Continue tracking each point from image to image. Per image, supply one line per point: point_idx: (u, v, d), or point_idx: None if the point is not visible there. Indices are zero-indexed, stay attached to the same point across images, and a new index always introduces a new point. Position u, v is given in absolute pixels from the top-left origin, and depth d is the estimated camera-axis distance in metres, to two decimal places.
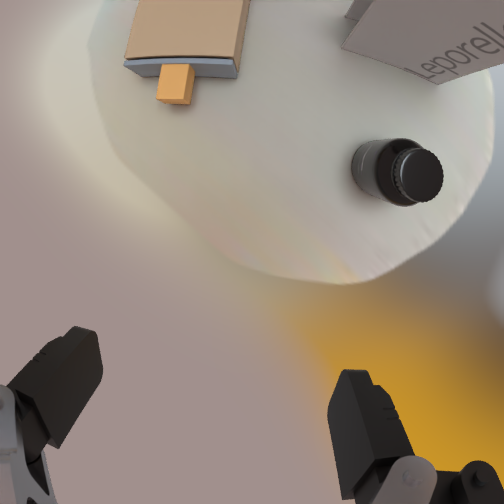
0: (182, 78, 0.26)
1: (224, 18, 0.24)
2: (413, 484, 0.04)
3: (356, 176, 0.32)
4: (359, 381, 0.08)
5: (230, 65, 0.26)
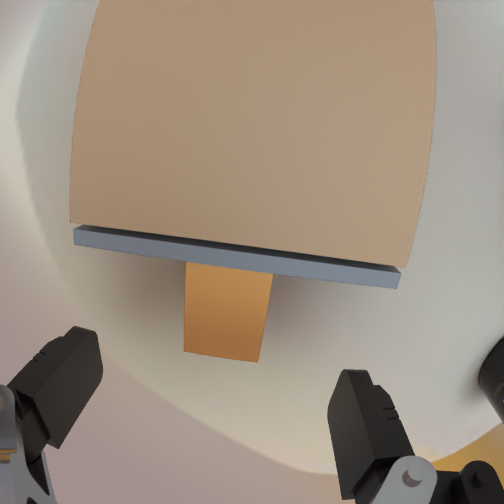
0: (253, 313, 0.11)
1: (391, 119, 0.08)
2: (413, 484, 0.04)
3: (486, 388, 0.17)
4: (359, 381, 0.08)
5: None
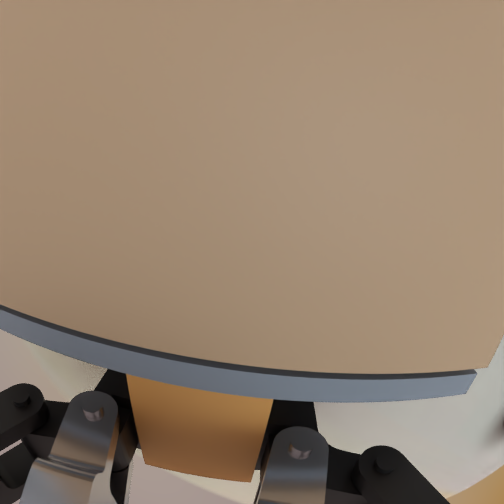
0: (242, 438, 0.06)
1: (502, 115, 0.03)
2: (295, 454, 0.05)
3: None
4: None
5: None
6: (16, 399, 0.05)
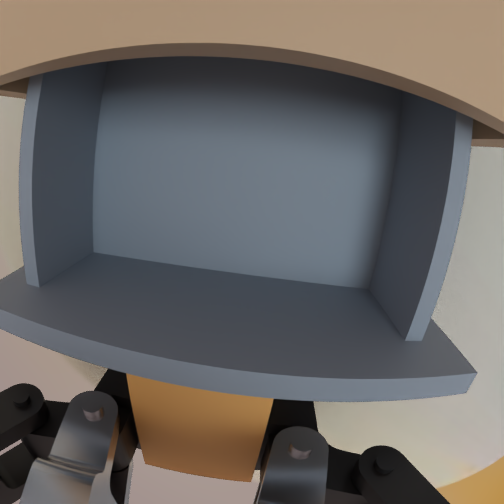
0: (242, 437, 0.06)
1: None
2: (295, 454, 0.05)
3: None
4: None
5: None
6: (16, 399, 0.05)
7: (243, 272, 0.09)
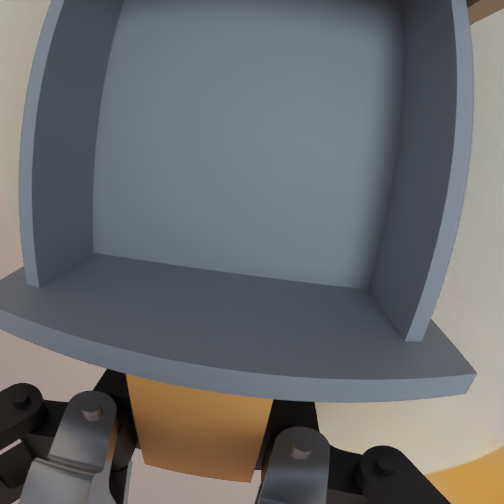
0: (242, 438, 0.06)
1: None
2: (297, 454, 0.05)
3: None
4: None
5: None
6: (15, 399, 0.05)
7: (243, 272, 0.09)
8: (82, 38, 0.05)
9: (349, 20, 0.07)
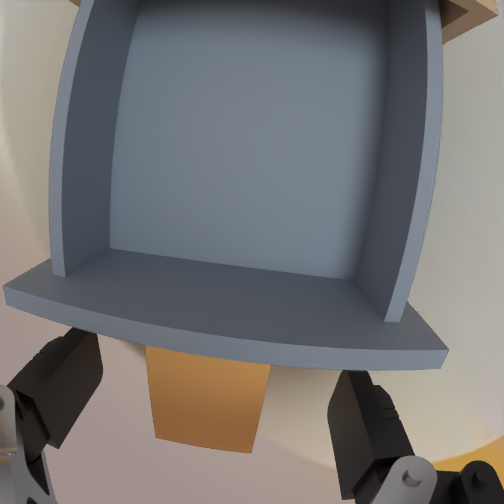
0: (243, 405, 0.07)
1: None
2: (413, 484, 0.04)
3: None
4: (359, 381, 0.08)
5: None
6: None
7: (244, 265, 0.10)
8: (102, 57, 0.07)
9: (337, 41, 0.08)
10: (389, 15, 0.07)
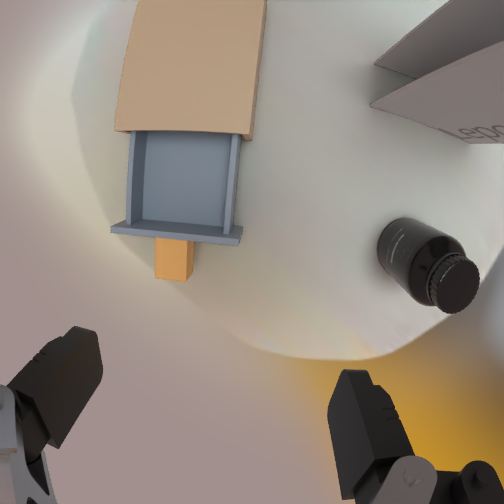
0: (181, 258, 0.27)
1: (235, 79, 0.22)
2: (413, 484, 0.04)
3: (382, 262, 0.30)
4: (359, 381, 0.08)
5: None
6: None
7: (188, 222, 0.30)
8: (139, 155, 0.26)
9: (216, 142, 0.28)
10: None
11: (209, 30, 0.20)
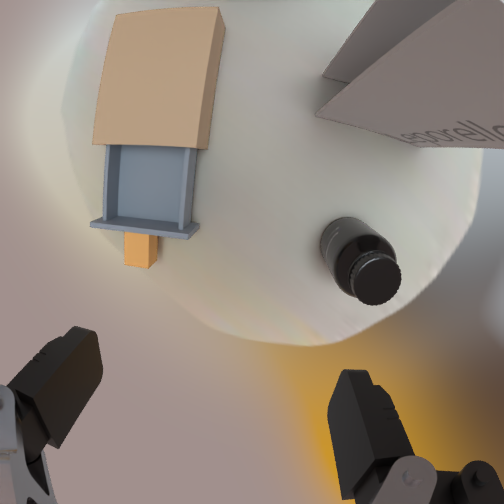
0: (144, 248, 0.32)
1: (186, 101, 0.26)
2: (413, 484, 0.04)
3: (323, 256, 0.35)
4: (359, 381, 0.08)
5: None
6: None
7: (153, 219, 0.35)
8: (113, 163, 0.31)
9: (176, 151, 0.32)
10: None
11: (167, 58, 0.25)
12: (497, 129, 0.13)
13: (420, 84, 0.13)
